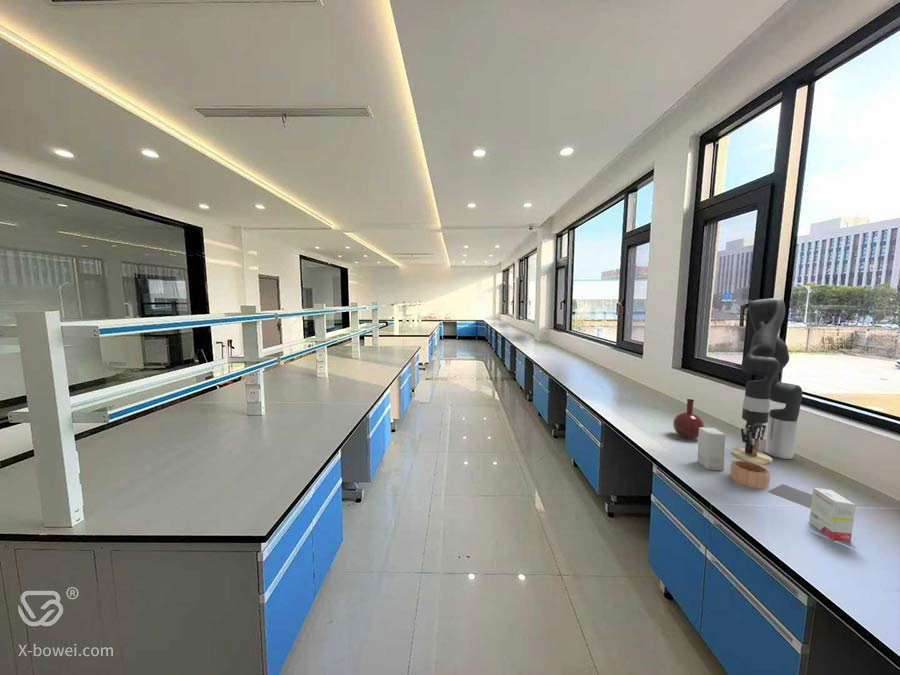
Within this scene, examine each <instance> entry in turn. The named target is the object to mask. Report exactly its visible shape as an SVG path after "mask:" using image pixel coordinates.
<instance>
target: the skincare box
mask: <svg viewBox="0 0 900 675" xmlns="http://www.w3.org/2000/svg"><path fill="white" fill-rule="evenodd" d="M697 439H698V441H697V442H698V443H697V460H696V461H697V462H698V463H699V464H700V465H701V466H703V467H704V468H705V469H706V470H709V471H711V470H712V471H719V472H721V471H724V466H725V450H726V449H725V448H726V433H723V431H720V430H719V429H717V428H715V427H705V428H703V427H699V437H698V438H697Z"/></svg>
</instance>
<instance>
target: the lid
mask: <svg viewBox="0 0 900 675" xmlns="http://www.w3.org/2000/svg"><path fill="white" fill-rule="evenodd" d="M751 440H752V438H751ZM758 442H759V441H758V440H757V439H755V440H754V444H753V445H754V447H753V453H752V454H749V453H746V452H745V448H744V447H743V448H742V447H734V448H731V450H730V455H731V456H732V457H733V458H735V459H736V460H742V461H745V462H749V463H753V464H759V465H762V466H768V465H772V464H773V458H772V457H771V455H769V454H767V453H766V454H765V453H763V452H761V451H759V447H758ZM757 451H758V452H757Z"/></svg>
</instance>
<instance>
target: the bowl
mask: <svg viewBox="0 0 900 675" xmlns="http://www.w3.org/2000/svg"><path fill="white" fill-rule="evenodd" d="M729 476H730V479H731V480H733V481H735V482H736V483H738V484H741V485H744V486H746V487H750V488H754V489H767V488H768V487H770V486H769V485H770V477H771V471H770V469H769V468H768V467H767V466H766V467H765V465H759V464H753V463H749V462H745V461H742V460H740V459H735V460H732V461H731V464H730V474H729Z"/></svg>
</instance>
